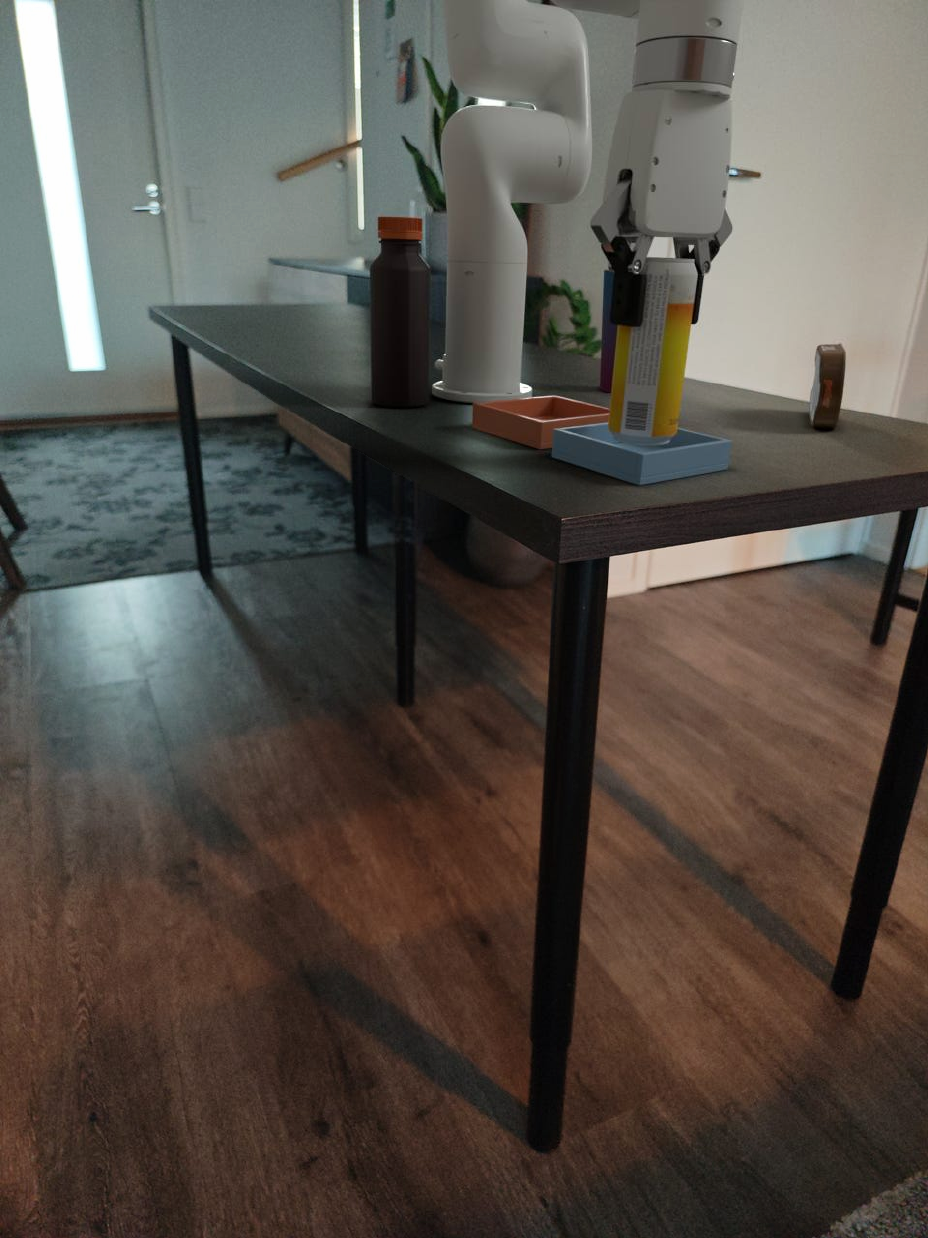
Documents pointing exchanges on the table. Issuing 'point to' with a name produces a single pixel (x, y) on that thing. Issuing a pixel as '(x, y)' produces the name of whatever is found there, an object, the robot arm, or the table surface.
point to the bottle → (400, 316)
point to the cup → (607, 336)
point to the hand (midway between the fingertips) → (654, 321)
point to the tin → (827, 386)
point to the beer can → (654, 356)
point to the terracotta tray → (534, 418)
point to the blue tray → (641, 454)
